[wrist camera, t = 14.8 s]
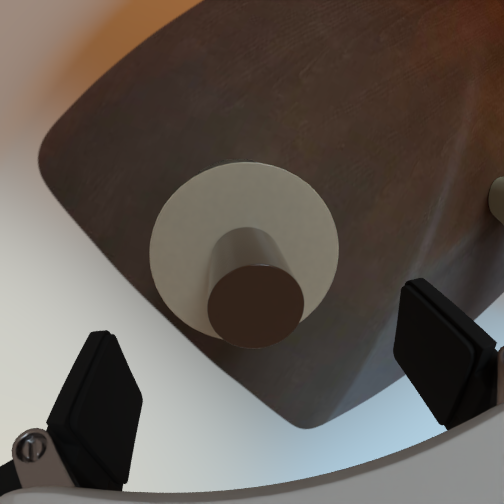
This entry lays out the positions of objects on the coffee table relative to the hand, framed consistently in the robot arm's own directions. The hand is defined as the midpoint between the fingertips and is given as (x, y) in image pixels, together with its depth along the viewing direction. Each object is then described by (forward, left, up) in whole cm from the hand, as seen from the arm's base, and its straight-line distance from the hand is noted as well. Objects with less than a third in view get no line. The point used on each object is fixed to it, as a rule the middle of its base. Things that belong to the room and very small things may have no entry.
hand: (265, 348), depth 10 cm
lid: (0, 0, -9) cm, 9 cm away
